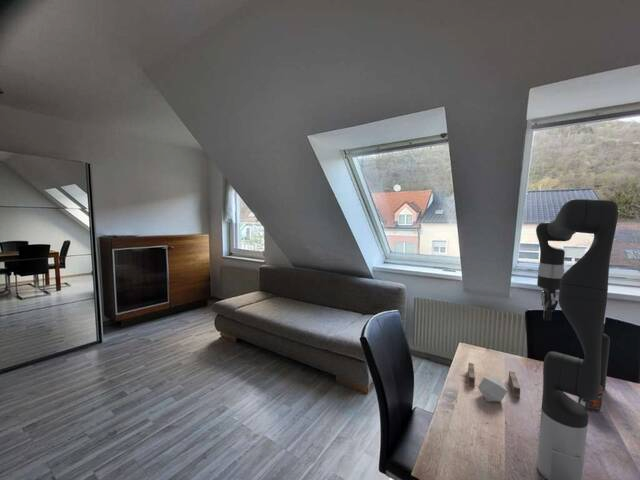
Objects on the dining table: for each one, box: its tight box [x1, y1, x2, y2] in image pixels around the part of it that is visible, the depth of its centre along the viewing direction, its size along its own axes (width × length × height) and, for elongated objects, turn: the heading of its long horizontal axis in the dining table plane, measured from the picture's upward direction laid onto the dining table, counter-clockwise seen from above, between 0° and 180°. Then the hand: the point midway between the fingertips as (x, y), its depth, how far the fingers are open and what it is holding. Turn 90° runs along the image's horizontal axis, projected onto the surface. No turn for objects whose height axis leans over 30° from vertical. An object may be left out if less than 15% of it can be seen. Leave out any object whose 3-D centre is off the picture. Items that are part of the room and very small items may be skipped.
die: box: [477, 376, 508, 403], centre depth 106 cm, size 8×9×10 cm
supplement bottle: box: [577, 385, 604, 413], centre depth 101 cm, size 6×6×11 cm
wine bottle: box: [600, 315, 611, 391], centre depth 113 cm, size 6×6×30 cm
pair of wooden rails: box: [467, 362, 521, 399], centre depth 116 cm, size 12×17×4 cm
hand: (547, 319), depth 108 cm, fingers closed
